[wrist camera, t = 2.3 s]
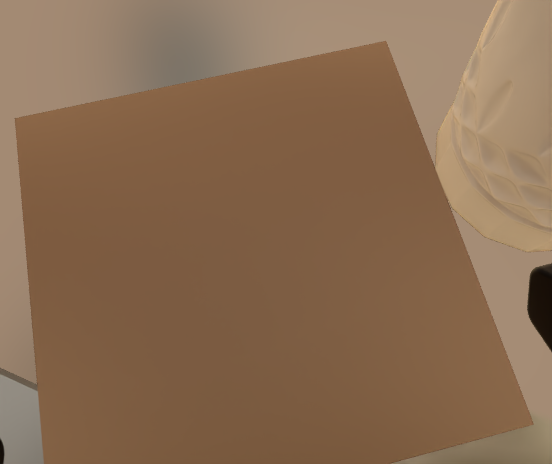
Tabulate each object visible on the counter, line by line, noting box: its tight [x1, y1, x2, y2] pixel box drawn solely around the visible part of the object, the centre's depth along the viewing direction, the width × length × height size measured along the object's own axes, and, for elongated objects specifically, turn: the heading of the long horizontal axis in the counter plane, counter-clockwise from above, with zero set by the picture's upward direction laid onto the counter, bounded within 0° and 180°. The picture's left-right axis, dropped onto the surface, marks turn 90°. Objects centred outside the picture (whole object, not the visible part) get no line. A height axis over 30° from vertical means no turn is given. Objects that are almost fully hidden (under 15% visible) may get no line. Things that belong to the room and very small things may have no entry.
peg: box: [15, 41, 533, 464], centre depth 10 cm, size 4×4×12 cm
